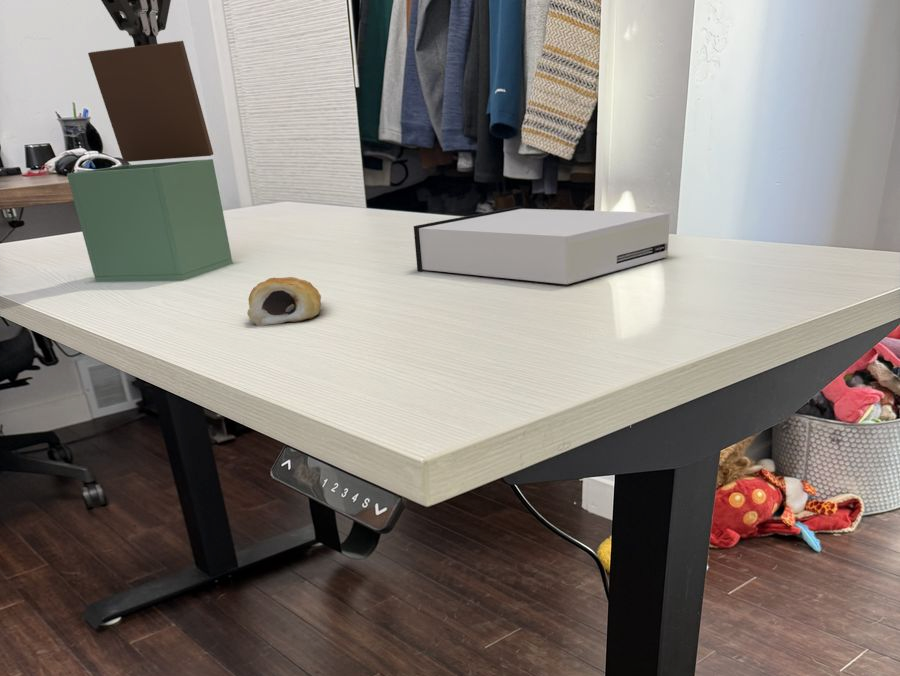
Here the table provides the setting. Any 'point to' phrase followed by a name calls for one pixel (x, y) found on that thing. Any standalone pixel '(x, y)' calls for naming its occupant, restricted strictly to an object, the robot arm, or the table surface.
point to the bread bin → (152, 221)
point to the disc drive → (542, 243)
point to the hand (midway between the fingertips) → (151, 72)
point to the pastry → (283, 301)
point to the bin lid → (152, 102)
